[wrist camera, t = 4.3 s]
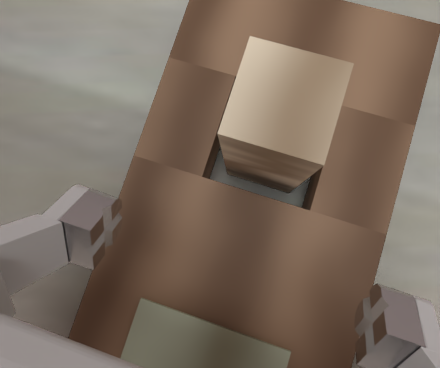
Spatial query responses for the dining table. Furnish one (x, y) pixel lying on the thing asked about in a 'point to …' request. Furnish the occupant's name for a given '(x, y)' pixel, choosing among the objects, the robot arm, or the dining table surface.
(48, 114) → the dining table surface
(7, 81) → the dining table surface
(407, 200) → the dining table surface
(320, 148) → the maple block
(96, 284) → the puzzle board
